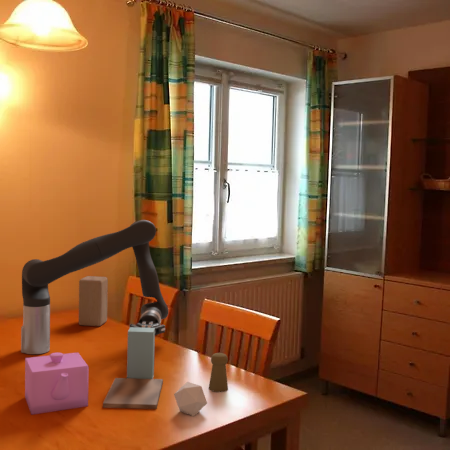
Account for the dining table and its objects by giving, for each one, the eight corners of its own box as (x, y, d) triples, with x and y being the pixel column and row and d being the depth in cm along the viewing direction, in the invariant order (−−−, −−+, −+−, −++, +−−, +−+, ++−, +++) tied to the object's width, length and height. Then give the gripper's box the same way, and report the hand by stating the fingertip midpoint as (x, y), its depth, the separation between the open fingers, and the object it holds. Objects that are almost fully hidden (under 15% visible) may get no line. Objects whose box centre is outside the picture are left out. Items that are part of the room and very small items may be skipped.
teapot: (35, 425, 146) (35, 372, 144) (22, 391, 168) (23, 345, 167) (94, 416, 152) (94, 365, 151) (74, 384, 175) (75, 340, 174)
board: (102, 407, 158) (102, 403, 158) (115, 381, 178) (115, 377, 178) (156, 408, 158) (156, 404, 158) (162, 382, 178) (162, 379, 178)
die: (212, 414, 158) (205, 380, 162) (203, 409, 150) (196, 374, 155) (185, 422, 159) (179, 388, 164) (174, 418, 151) (168, 382, 156)
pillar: (126, 380, 179) (127, 331, 178) (129, 375, 184) (130, 327, 183) (152, 381, 179) (153, 332, 178) (153, 376, 184) (154, 327, 183)
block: (107, 321, 250) (108, 276, 249) (100, 327, 240) (101, 280, 239) (85, 319, 251) (86, 275, 250) (77, 325, 241) (78, 279, 240)
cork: (231, 387, 177) (232, 352, 176) (223, 393, 171) (224, 358, 170) (213, 383, 179) (215, 349, 178) (205, 389, 174) (206, 355, 173)
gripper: (131, 311, 205) (124, 323, 187) (168, 312, 205) (164, 324, 188) (131, 331, 205) (124, 345, 188) (167, 332, 206) (163, 346, 188)
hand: (144, 335), depth 188 cm, fingers closed
